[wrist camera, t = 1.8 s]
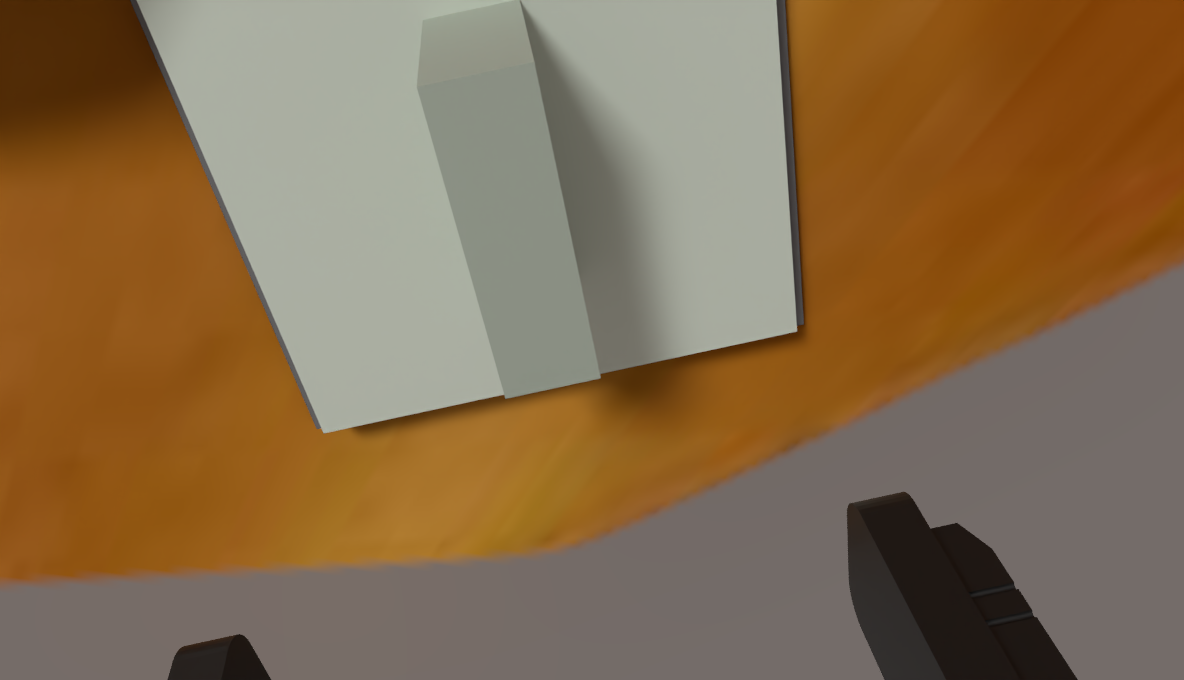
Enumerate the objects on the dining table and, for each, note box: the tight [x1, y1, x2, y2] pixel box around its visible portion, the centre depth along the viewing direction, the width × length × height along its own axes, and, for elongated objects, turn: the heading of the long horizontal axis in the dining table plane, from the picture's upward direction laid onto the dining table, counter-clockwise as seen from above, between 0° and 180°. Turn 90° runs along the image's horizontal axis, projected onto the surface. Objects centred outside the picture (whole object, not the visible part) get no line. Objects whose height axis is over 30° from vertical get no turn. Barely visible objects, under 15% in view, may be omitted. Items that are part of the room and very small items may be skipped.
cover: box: [137, 0, 797, 433], centre depth 24 cm, size 15×15×6 cm
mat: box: [130, 0, 804, 429], centre depth 27 cm, size 16×16×1 cm
